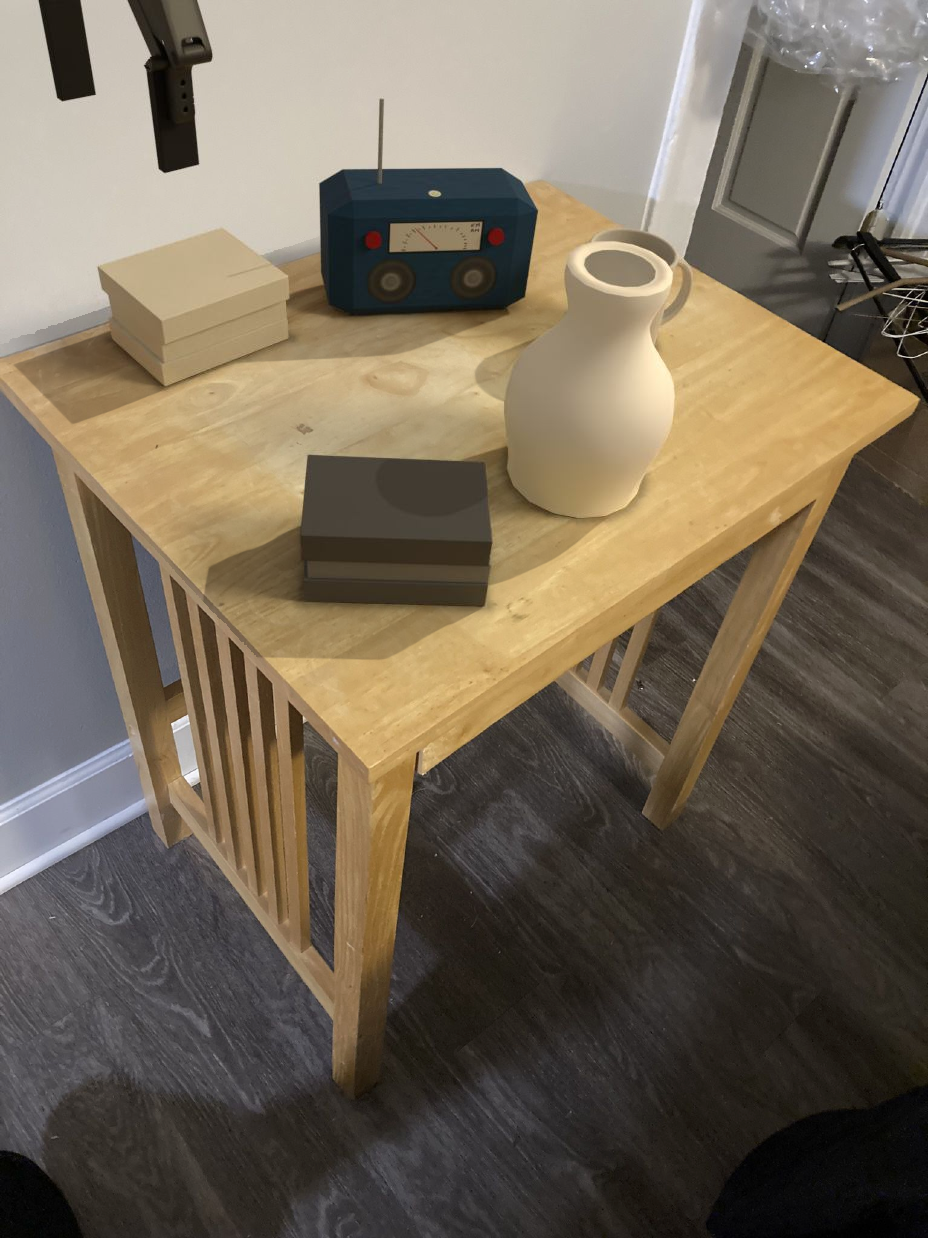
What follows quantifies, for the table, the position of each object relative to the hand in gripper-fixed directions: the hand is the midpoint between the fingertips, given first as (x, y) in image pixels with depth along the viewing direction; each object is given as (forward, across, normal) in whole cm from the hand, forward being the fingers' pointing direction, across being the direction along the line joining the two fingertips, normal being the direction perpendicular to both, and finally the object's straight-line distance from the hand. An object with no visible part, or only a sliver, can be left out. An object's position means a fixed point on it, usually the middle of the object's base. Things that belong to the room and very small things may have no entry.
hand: (125, 130), depth 69 cm
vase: (+24, -28, -24) cm, 44 cm away
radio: (+24, +2, -32) cm, 40 cm away
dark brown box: (+25, -27, -4) cm, 36 cm away
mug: (+24, -17, -44) cm, 53 cm away
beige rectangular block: (+24, +8, -9) cm, 28 cm away
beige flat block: (+20, +8, -9) cm, 23 cm away
